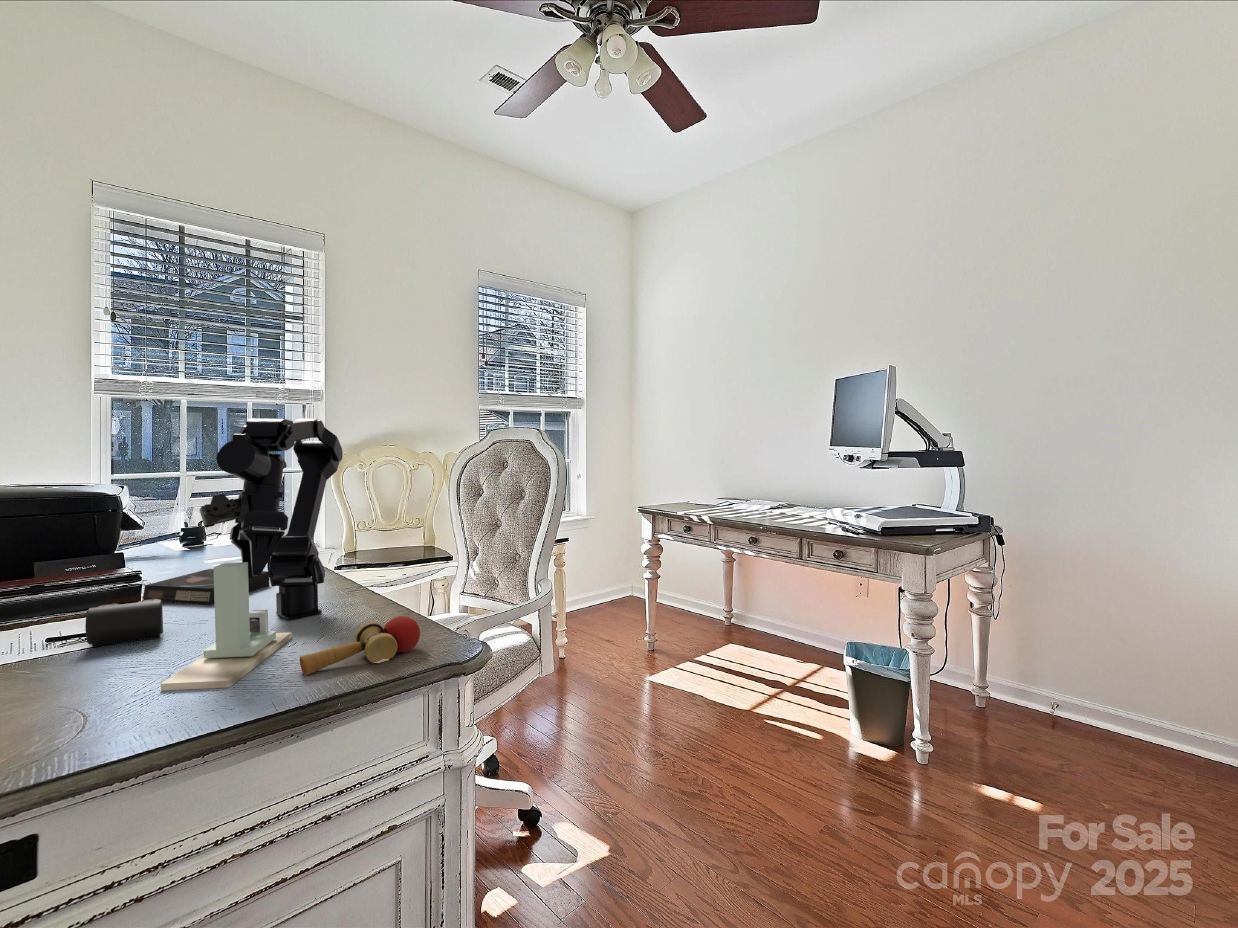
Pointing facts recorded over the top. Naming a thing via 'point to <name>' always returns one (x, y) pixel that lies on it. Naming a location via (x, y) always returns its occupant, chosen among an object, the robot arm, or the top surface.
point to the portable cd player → (194, 588)
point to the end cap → (124, 622)
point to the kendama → (368, 644)
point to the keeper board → (223, 666)
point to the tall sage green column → (235, 615)
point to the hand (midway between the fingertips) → (252, 577)
